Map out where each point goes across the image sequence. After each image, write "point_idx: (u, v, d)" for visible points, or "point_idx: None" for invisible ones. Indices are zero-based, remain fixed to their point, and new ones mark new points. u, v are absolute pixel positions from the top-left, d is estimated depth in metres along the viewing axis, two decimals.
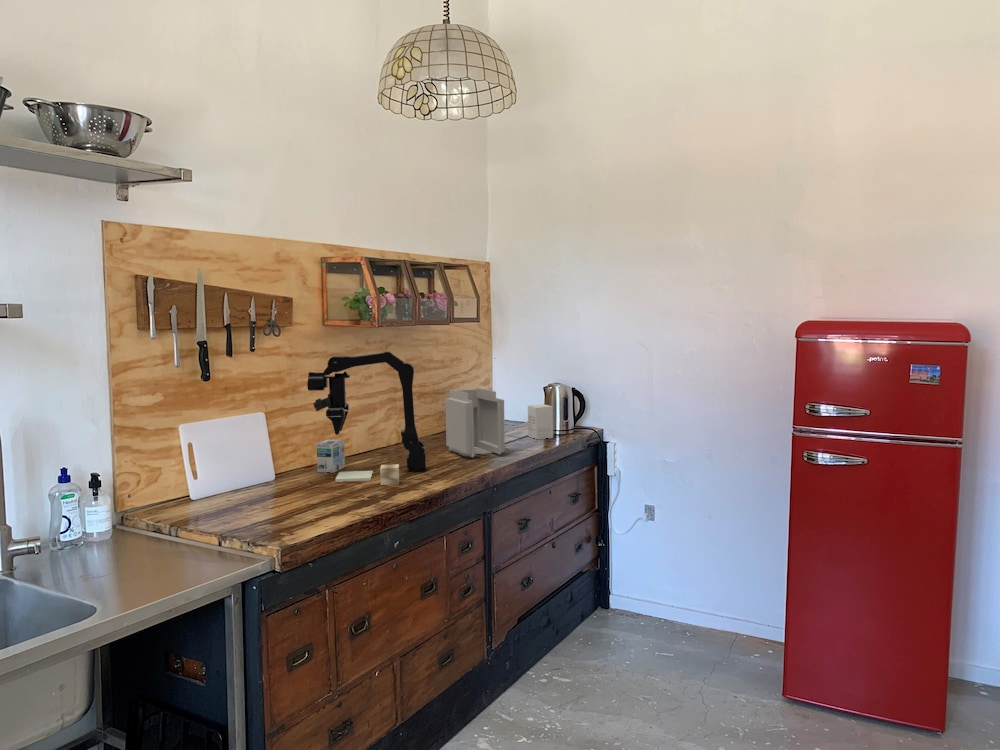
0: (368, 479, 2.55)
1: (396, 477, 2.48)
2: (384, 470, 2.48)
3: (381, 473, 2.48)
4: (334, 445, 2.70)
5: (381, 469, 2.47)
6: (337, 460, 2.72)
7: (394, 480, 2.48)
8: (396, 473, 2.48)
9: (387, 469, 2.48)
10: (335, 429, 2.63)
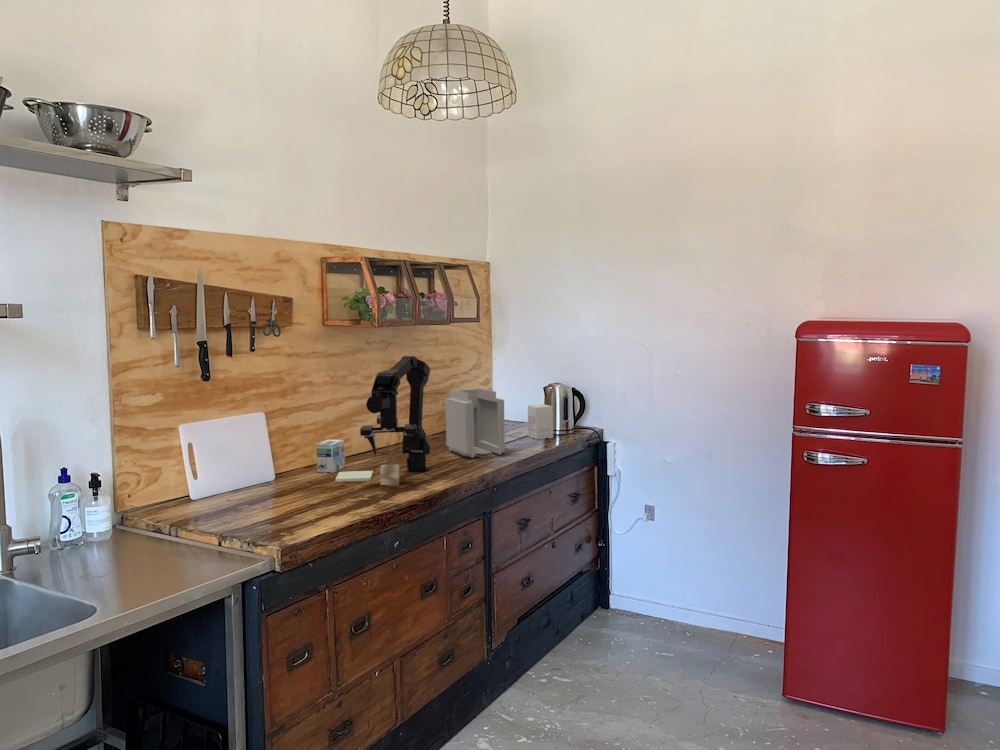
0: (368, 479, 2.55)
1: (396, 477, 2.48)
2: (384, 470, 2.48)
3: (381, 473, 2.48)
4: (334, 445, 2.70)
5: (381, 469, 2.47)
6: (337, 460, 2.72)
7: (394, 480, 2.48)
8: (396, 473, 2.48)
9: (387, 469, 2.48)
10: None
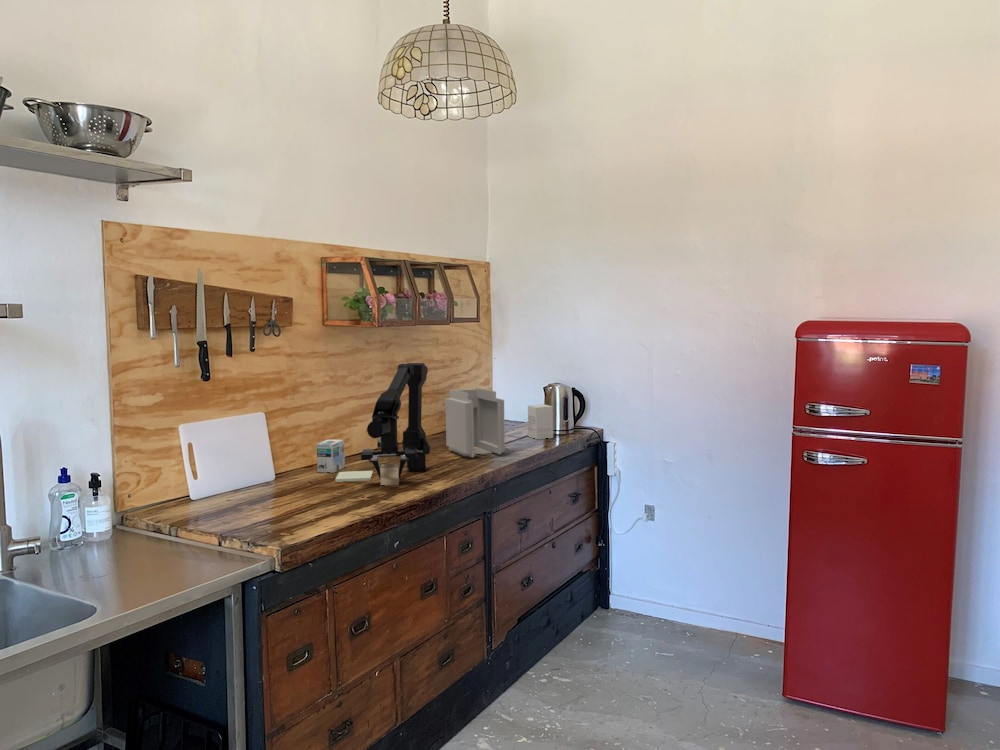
0: (368, 479, 2.55)
1: (396, 477, 2.48)
2: (384, 470, 2.48)
3: (381, 473, 2.48)
4: (334, 445, 2.70)
5: (381, 469, 2.47)
6: (337, 460, 2.72)
7: (394, 479, 2.48)
8: (396, 473, 2.48)
9: (387, 469, 2.48)
10: None
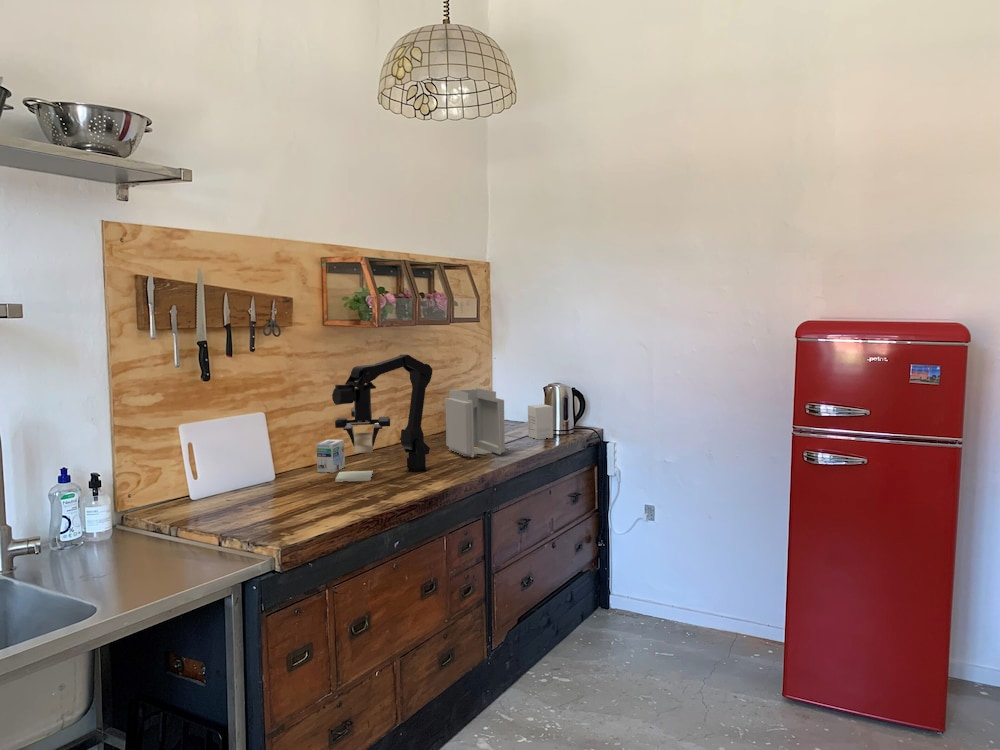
0: (368, 479, 2.55)
1: (370, 444, 2.54)
2: (358, 437, 2.53)
3: (355, 440, 2.53)
4: (334, 445, 2.70)
5: (355, 436, 2.53)
6: (337, 460, 2.72)
7: (367, 447, 2.54)
8: (370, 440, 2.54)
9: (361, 436, 2.53)
10: None
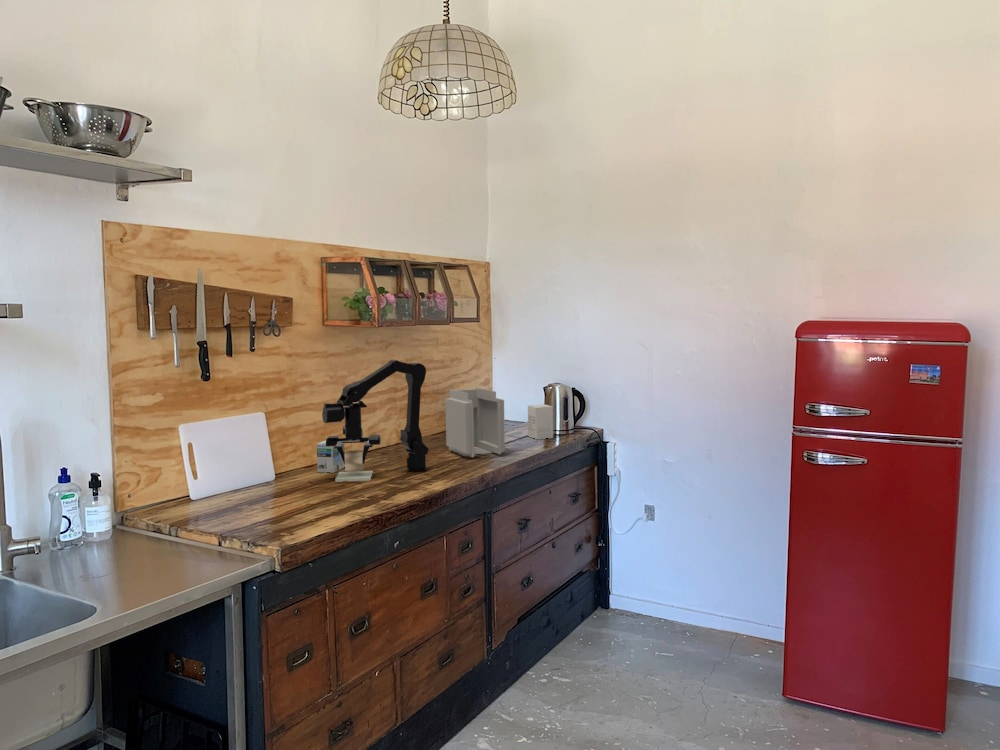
0: (368, 479, 2.55)
1: (360, 462, 2.58)
2: (348, 455, 2.57)
3: (345, 458, 2.57)
4: None
5: (345, 454, 2.57)
6: (337, 460, 2.72)
7: (358, 465, 2.57)
8: (360, 458, 2.57)
9: (351, 454, 2.57)
10: None
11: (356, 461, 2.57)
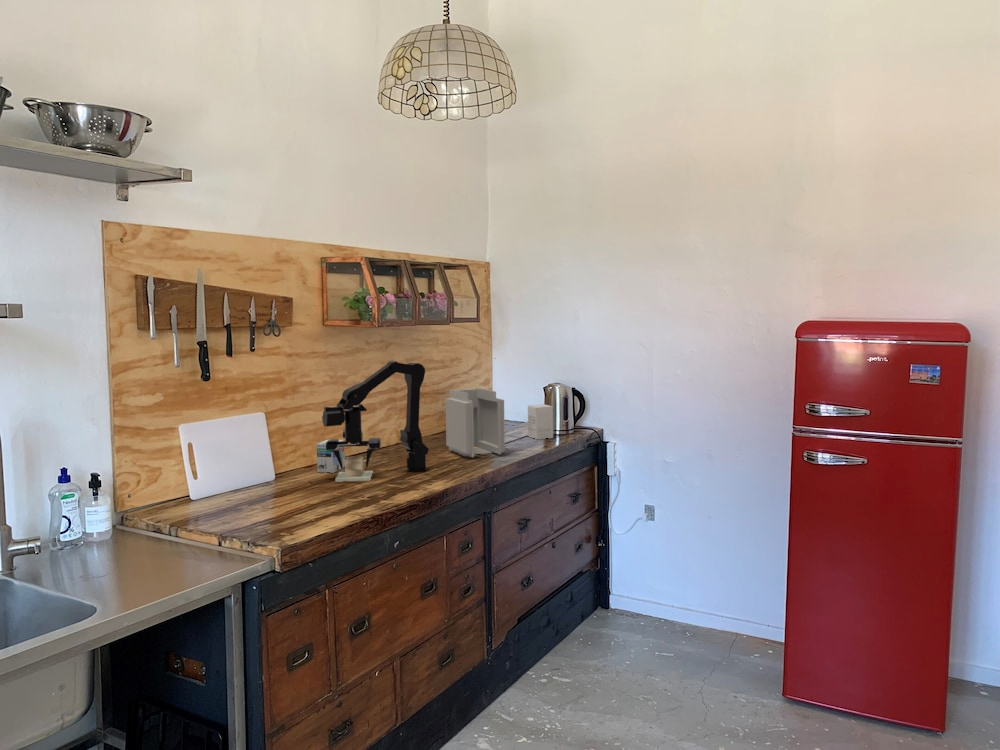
0: (368, 479, 2.55)
1: (360, 468, 2.58)
2: (348, 462, 2.57)
3: (345, 464, 2.57)
4: None
5: (345, 461, 2.57)
6: (337, 460, 2.72)
7: (358, 471, 2.58)
8: (360, 464, 2.58)
9: (351, 461, 2.57)
10: None
11: (356, 467, 2.58)
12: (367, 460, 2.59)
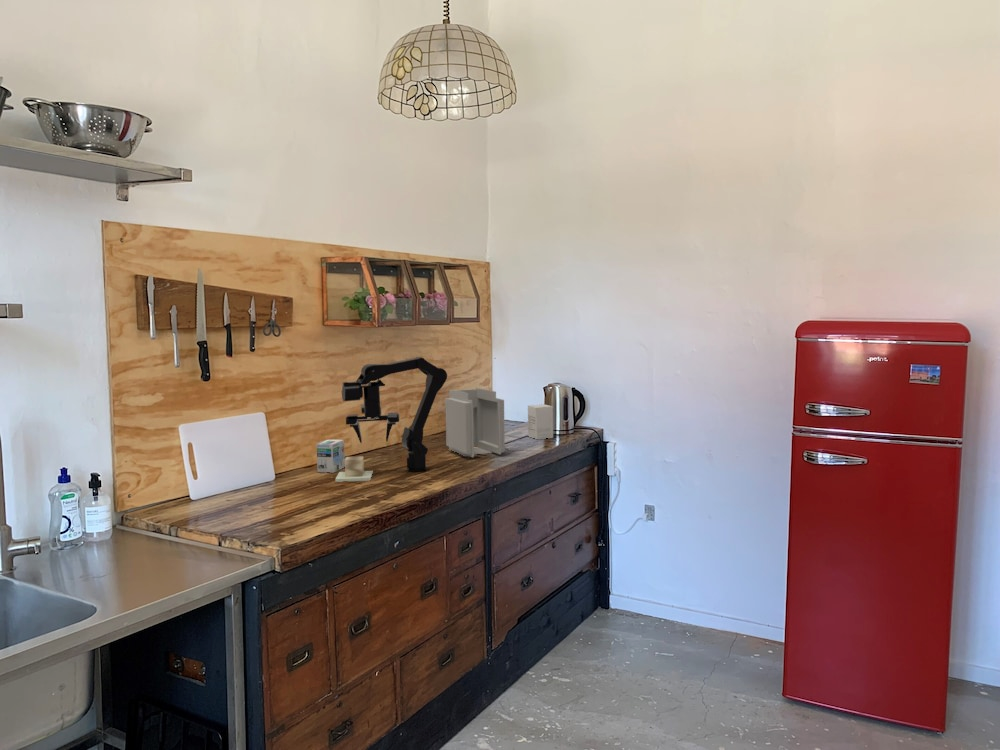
0: (368, 479, 2.55)
1: (360, 468, 2.58)
2: (348, 462, 2.57)
3: (345, 464, 2.57)
4: (334, 445, 2.70)
5: (345, 461, 2.57)
6: (337, 460, 2.72)
7: (358, 471, 2.58)
8: (360, 464, 2.58)
9: (351, 461, 2.57)
10: None
11: (356, 467, 2.58)
12: (387, 434, 2.64)
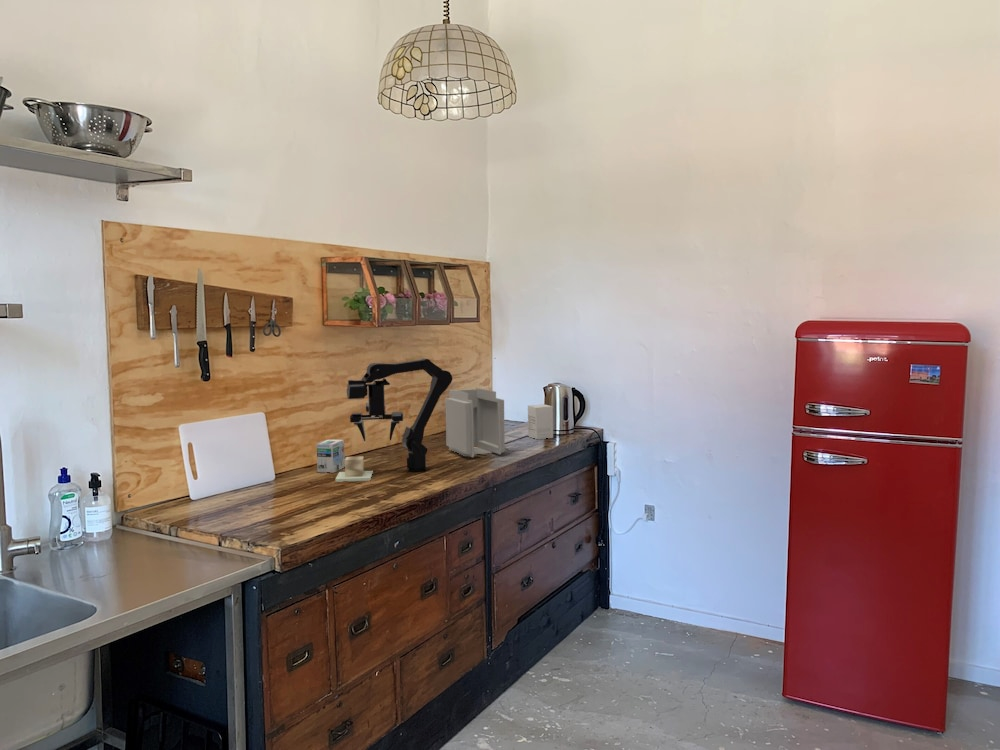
0: (368, 479, 2.55)
1: (360, 468, 2.58)
2: (348, 462, 2.57)
3: (345, 464, 2.57)
4: (334, 445, 2.70)
5: (345, 461, 2.57)
6: (337, 460, 2.72)
7: (358, 471, 2.58)
8: (360, 464, 2.58)
9: (351, 461, 2.57)
10: None
11: (356, 467, 2.58)
12: (391, 433, 2.65)
